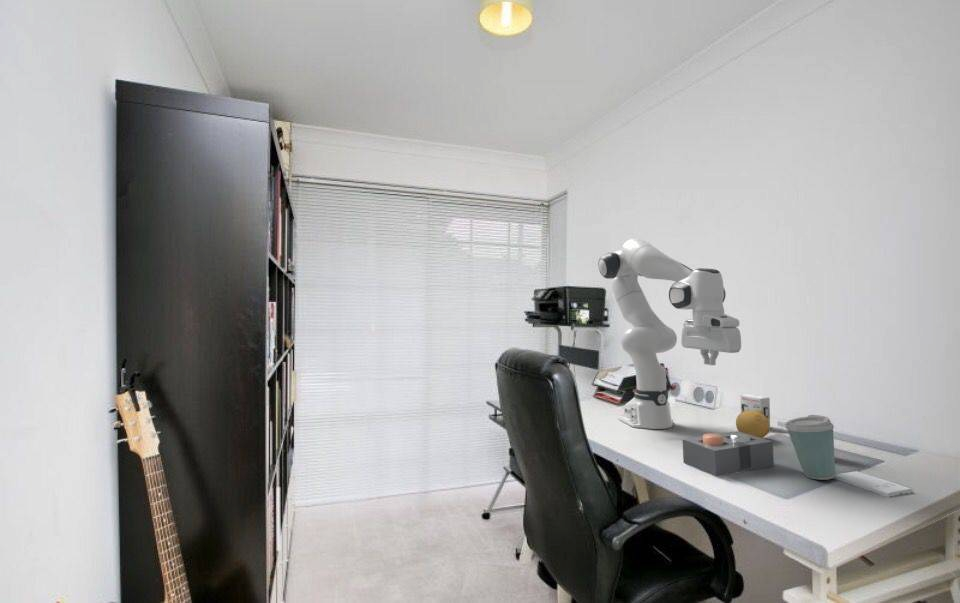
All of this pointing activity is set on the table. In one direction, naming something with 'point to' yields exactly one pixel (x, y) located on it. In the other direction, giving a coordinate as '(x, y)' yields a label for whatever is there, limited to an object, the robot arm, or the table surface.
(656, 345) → the robot arm
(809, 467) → the disposable coffee cup
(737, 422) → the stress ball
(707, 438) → the terracotta button
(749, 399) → the ink box
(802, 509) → the table surface
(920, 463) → the table surface
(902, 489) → the external hard drive
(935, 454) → the table surface
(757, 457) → the block
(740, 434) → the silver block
